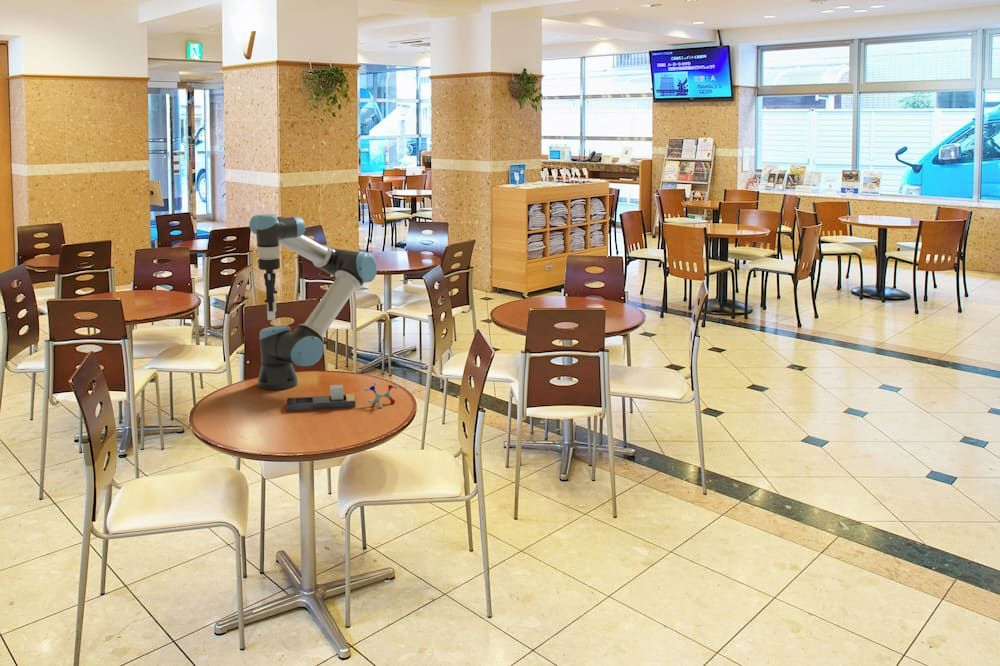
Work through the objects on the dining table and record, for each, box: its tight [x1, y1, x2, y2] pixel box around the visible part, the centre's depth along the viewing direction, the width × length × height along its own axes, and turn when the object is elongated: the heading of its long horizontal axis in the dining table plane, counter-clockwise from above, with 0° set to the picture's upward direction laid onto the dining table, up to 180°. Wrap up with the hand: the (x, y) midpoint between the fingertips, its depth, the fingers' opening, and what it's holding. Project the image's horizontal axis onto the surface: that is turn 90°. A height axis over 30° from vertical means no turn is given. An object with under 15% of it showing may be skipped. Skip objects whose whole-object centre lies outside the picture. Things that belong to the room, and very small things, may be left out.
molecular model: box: [364, 381, 399, 409], centre depth 321 cm, size 12×10×10 cm
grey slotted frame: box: [286, 393, 356, 413], centre depth 319 cm, size 8×24×3 cm, turn 103°
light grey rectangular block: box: [329, 384, 344, 401], centre depth 320 cm, size 4×4×7 cm
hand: (272, 315), depth 320 cm, fingers open, 13 cm apart
